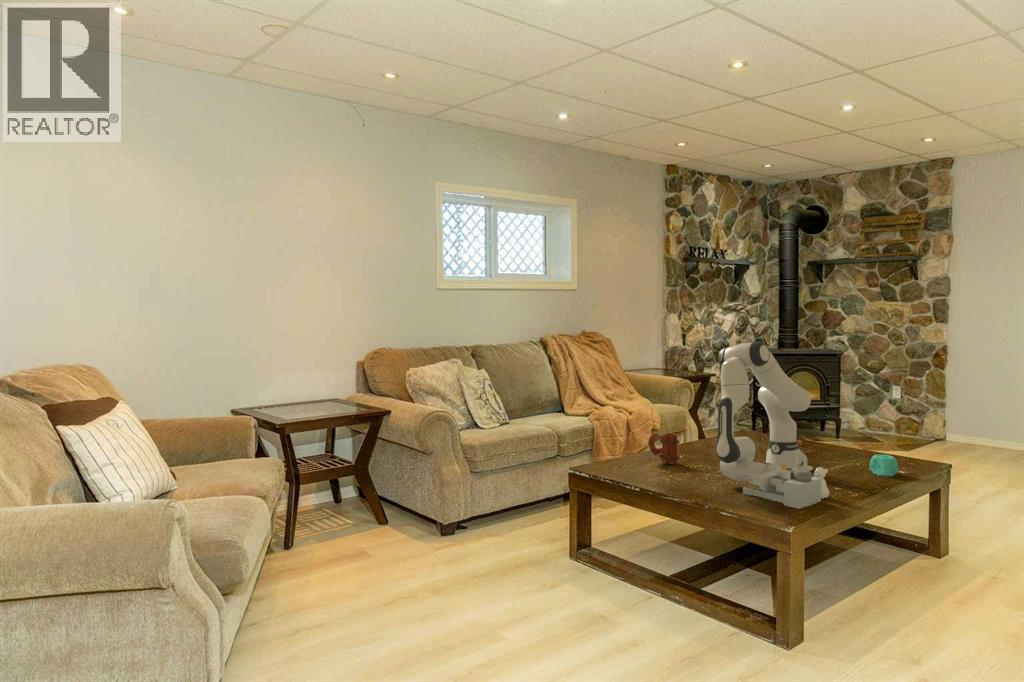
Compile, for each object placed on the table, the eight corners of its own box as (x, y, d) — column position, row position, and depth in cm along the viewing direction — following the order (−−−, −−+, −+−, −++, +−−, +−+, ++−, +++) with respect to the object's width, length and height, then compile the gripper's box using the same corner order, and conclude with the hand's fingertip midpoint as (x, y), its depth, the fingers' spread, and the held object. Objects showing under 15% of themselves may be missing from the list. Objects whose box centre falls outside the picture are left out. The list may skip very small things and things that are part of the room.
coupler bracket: (762, 487, 279) (763, 458, 278) (820, 501, 259) (821, 470, 258) (740, 493, 270) (741, 464, 270) (798, 508, 250) (799, 476, 250)
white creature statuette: (816, 492, 272) (817, 462, 271) (836, 497, 264) (836, 467, 263) (800, 495, 267) (801, 465, 266) (820, 501, 259) (820, 470, 259)
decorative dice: (885, 477, 294) (885, 459, 293) (869, 473, 301) (869, 455, 301) (898, 475, 297) (898, 457, 296) (882, 471, 304) (882, 453, 304)
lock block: (783, 496, 266) (783, 461, 265) (797, 500, 261) (798, 464, 261) (775, 498, 263) (776, 463, 262) (790, 502, 258) (790, 466, 258)
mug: (678, 461, 325) (678, 430, 325) (681, 465, 317) (681, 434, 317) (647, 461, 327) (647, 430, 326) (649, 465, 319) (649, 433, 318)
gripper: (741, 470, 266) (773, 477, 255) (772, 462, 278) (803, 468, 267) (741, 485, 266) (773, 493, 255) (771, 477, 278) (803, 484, 267)
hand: (789, 480), depth 261 cm, fingers open, 7 cm apart
